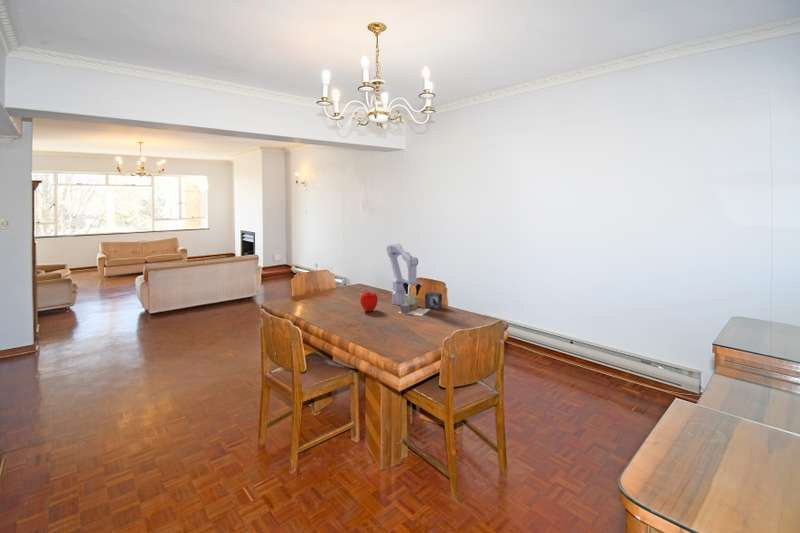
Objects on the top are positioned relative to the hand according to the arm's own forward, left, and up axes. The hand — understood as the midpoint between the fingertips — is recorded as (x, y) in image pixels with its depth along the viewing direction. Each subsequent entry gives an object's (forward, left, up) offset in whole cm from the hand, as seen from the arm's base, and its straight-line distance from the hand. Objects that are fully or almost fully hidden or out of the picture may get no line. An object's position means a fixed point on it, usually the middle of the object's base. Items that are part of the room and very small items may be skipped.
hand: (412, 294), depth 274 cm
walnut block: (0, -2, -10) cm, 10 cm away
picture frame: (+13, +9, -11) cm, 19 cm away
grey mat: (+4, -5, -10) cm, 12 cm away
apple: (-25, -17, -11) cm, 32 cm away
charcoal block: (-1, -10, -10) cm, 14 cm away
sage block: (0, -2, -6) cm, 6 cm away
